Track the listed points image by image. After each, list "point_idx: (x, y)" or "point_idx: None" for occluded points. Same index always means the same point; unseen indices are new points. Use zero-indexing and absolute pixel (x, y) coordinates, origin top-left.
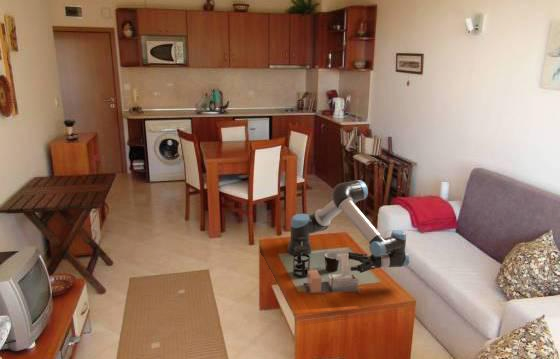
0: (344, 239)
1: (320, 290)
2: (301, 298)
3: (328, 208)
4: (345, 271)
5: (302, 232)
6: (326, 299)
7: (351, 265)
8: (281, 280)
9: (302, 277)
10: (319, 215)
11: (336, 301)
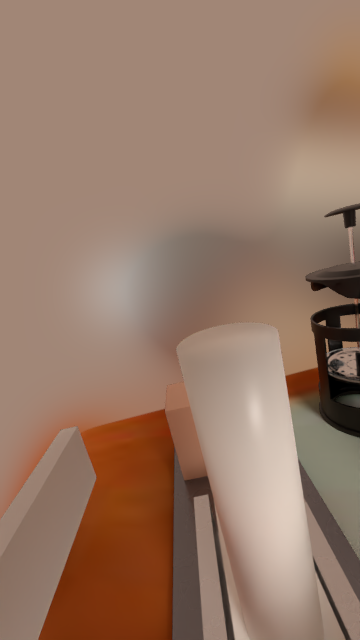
0: None
1: (182, 470)
2: (169, 429)
3: None
4: (232, 571)
5: None
6: (137, 520)
7: (22, 513)
8: (296, 374)
9: (324, 405)
10: None
11: (95, 584)
